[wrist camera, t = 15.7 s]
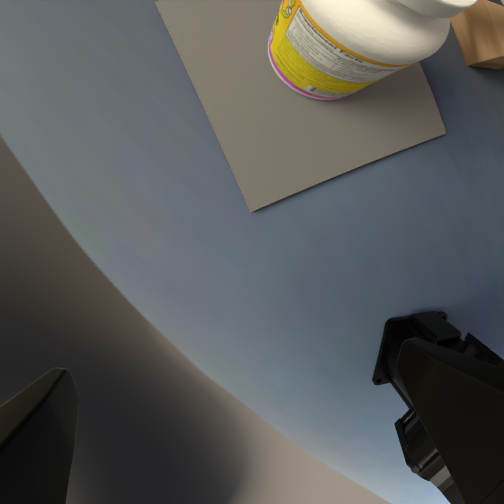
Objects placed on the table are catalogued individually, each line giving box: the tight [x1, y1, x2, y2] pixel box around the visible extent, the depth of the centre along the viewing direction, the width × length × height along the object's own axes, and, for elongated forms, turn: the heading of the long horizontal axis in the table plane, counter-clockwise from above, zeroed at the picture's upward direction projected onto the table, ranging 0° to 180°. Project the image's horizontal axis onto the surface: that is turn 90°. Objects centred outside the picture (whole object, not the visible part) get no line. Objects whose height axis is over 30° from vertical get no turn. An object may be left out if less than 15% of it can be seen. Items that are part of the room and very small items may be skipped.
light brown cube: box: [450, 0, 504, 69], centre depth 15 cm, size 5×5×5 cm
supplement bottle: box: [268, 0, 477, 100], centre depth 11 cm, size 7×7×13 cm
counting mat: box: [155, 0, 446, 212], centre depth 17 cm, size 16×16×1 cm
